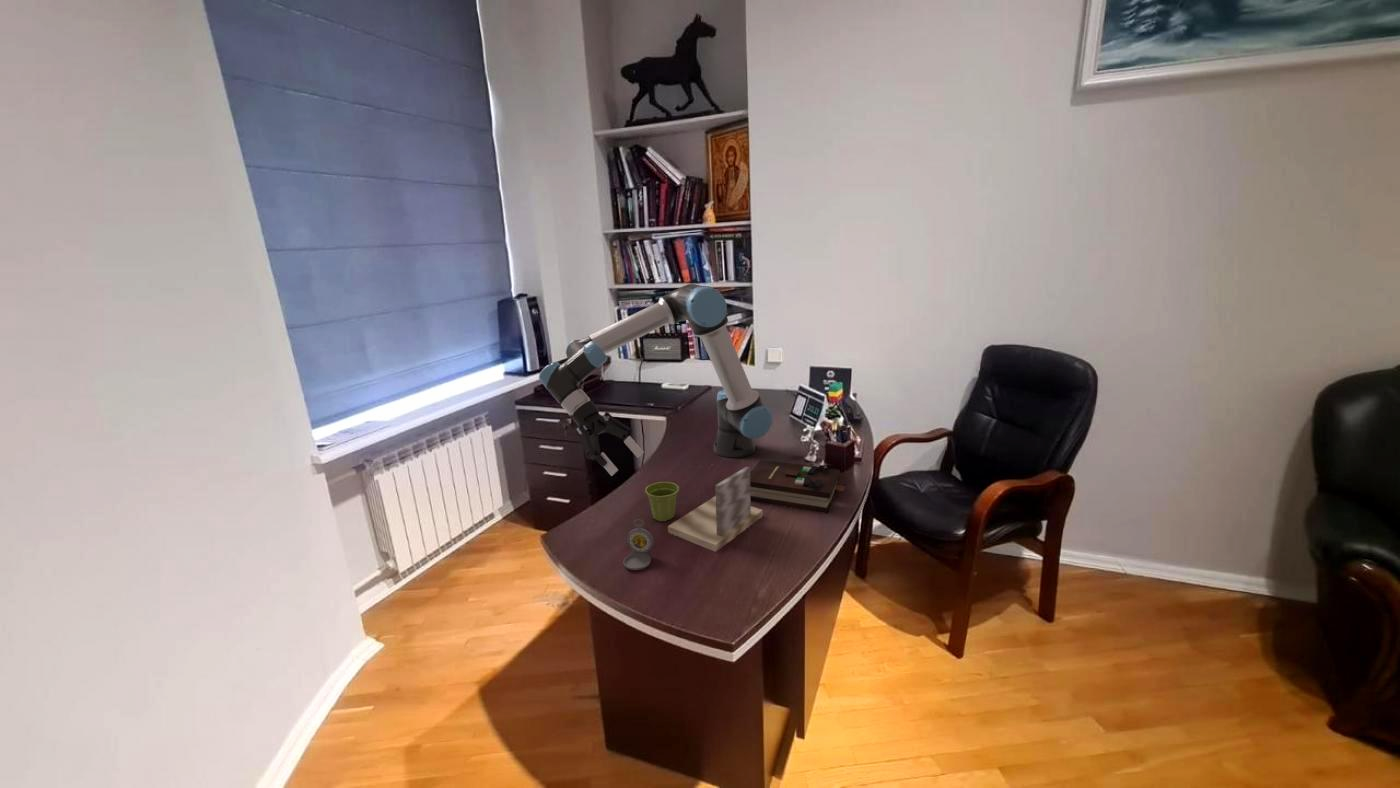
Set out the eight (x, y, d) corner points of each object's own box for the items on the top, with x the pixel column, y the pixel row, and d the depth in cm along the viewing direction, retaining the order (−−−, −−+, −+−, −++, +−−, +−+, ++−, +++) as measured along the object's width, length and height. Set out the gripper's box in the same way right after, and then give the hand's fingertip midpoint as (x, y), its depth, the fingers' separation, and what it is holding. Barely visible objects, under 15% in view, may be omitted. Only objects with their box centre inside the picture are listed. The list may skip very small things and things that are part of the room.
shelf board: (717, 501, 163) (715, 451, 158) (762, 516, 153) (762, 463, 148) (668, 532, 146) (664, 478, 142) (715, 552, 137) (713, 494, 132)
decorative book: (754, 454, 178) (848, 466, 166) (754, 476, 180) (847, 489, 168) (734, 478, 161) (838, 493, 149) (735, 501, 163) (837, 518, 151)
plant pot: (649, 508, 160) (647, 481, 157) (681, 508, 159) (679, 481, 157) (645, 525, 151) (643, 496, 148) (679, 524, 150) (677, 496, 148)
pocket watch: (628, 574, 129) (625, 537, 126) (618, 556, 136) (615, 520, 133) (660, 565, 132) (658, 528, 129) (649, 548, 139) (647, 513, 136)
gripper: (599, 404, 170) (643, 455, 168) (545, 429, 149) (595, 488, 146) (612, 389, 166) (657, 441, 164) (558, 413, 145) (610, 473, 143)
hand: (628, 463), depth 155 cm, fingers open, 13 cm apart
